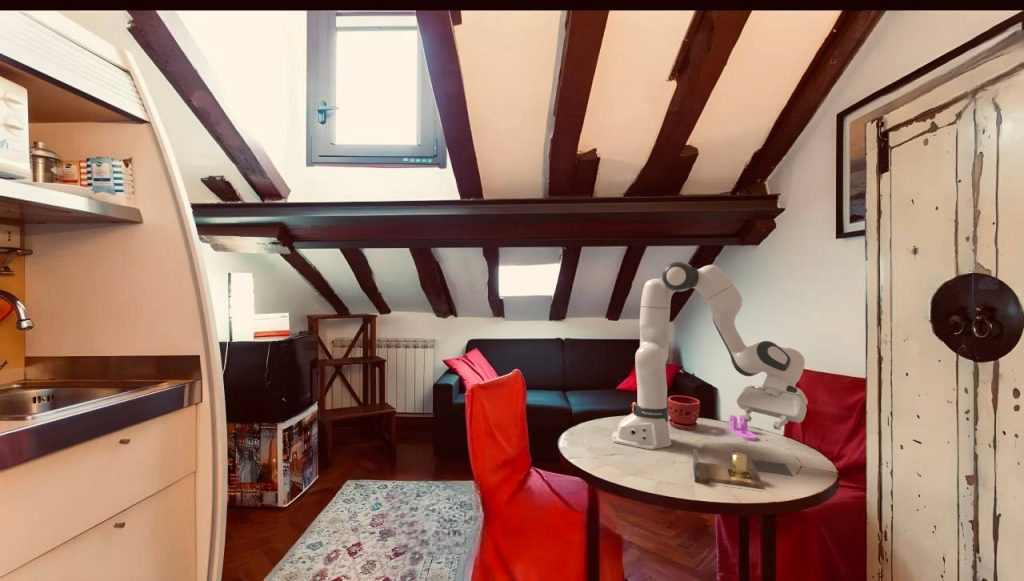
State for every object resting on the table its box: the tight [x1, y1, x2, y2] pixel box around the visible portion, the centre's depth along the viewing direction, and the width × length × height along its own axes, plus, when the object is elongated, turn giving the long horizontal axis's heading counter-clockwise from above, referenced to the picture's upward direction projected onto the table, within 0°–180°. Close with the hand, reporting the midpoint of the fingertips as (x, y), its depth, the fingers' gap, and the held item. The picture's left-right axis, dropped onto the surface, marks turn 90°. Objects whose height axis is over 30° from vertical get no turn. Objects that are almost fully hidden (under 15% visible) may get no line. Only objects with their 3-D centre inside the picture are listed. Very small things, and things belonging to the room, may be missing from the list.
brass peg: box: [731, 452, 748, 479], centre depth 132 cm, size 4×4×8 cm
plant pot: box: [667, 395, 701, 430], centre depth 184 cm, size 13×13×12 cm
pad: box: [751, 459, 794, 477], centre depth 139 cm, size 10×10×1 cm
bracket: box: [728, 414, 758, 442], centre depth 172 cm, size 13×6×7 cm, turn 179°
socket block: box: [692, 448, 762, 493], centre depth 133 cm, size 18×12×6 cm, turn 69°
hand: (761, 424), depth 138 cm, fingers open, 8 cm apart
